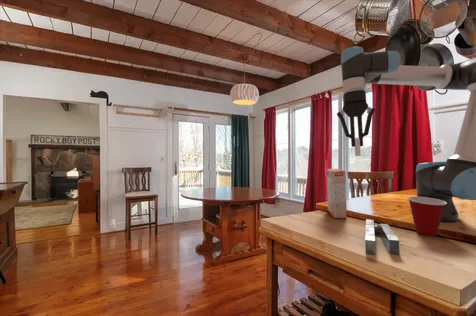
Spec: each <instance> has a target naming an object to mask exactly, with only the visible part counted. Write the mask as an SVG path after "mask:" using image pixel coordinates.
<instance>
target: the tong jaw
mask: <svg viewBox="0 0 476 316" xmlns="http://www.w3.org/2000/svg"><path fill="white" fill-rule="evenodd" d="M374 224H375V223H374V219H366V218H365V240H364V241H365V242H364V243H365V246H364V248H365V253H368V254H377V253H376V236H375V235H376V234H374Z"/></svg>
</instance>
